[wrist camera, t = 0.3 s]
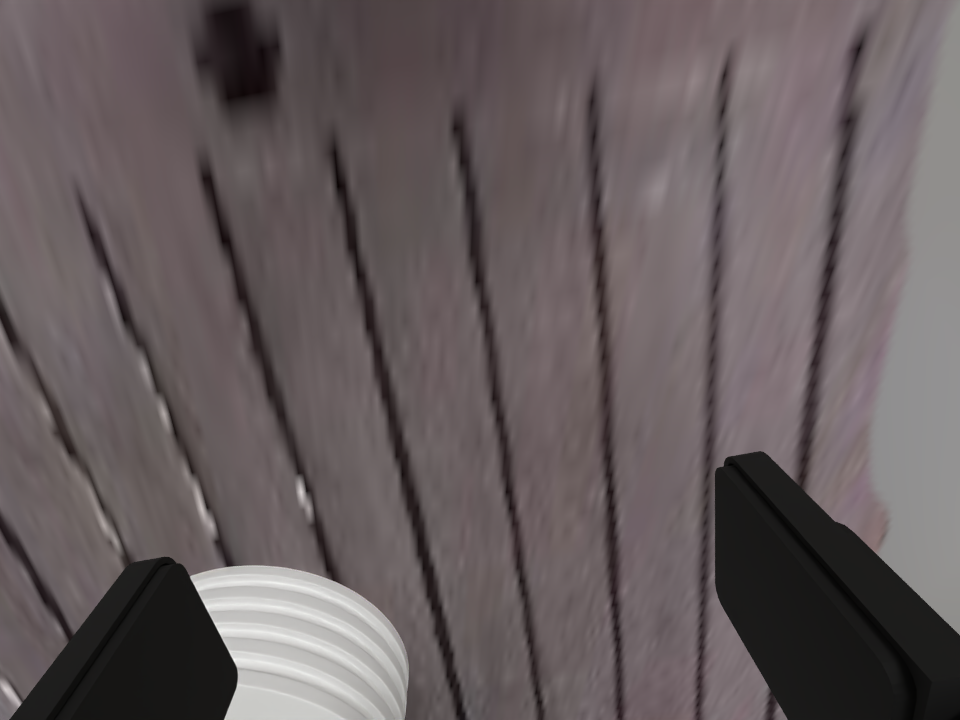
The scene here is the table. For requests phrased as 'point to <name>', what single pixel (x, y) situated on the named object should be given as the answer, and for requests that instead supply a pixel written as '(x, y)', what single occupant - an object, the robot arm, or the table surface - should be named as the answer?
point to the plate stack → (304, 646)
